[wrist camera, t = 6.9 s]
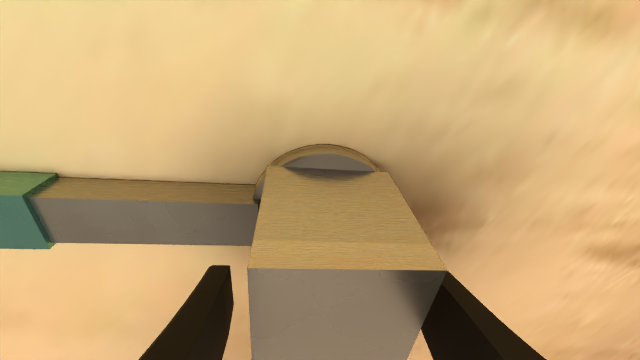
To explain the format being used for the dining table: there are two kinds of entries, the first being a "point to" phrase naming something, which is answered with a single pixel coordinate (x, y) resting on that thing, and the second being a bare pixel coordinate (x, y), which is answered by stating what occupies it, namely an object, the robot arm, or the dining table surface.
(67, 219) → the ratchet
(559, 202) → the dining table surface
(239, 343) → the dining table surface
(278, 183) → the grey block
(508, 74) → the dining table surface
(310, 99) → the dining table surface
